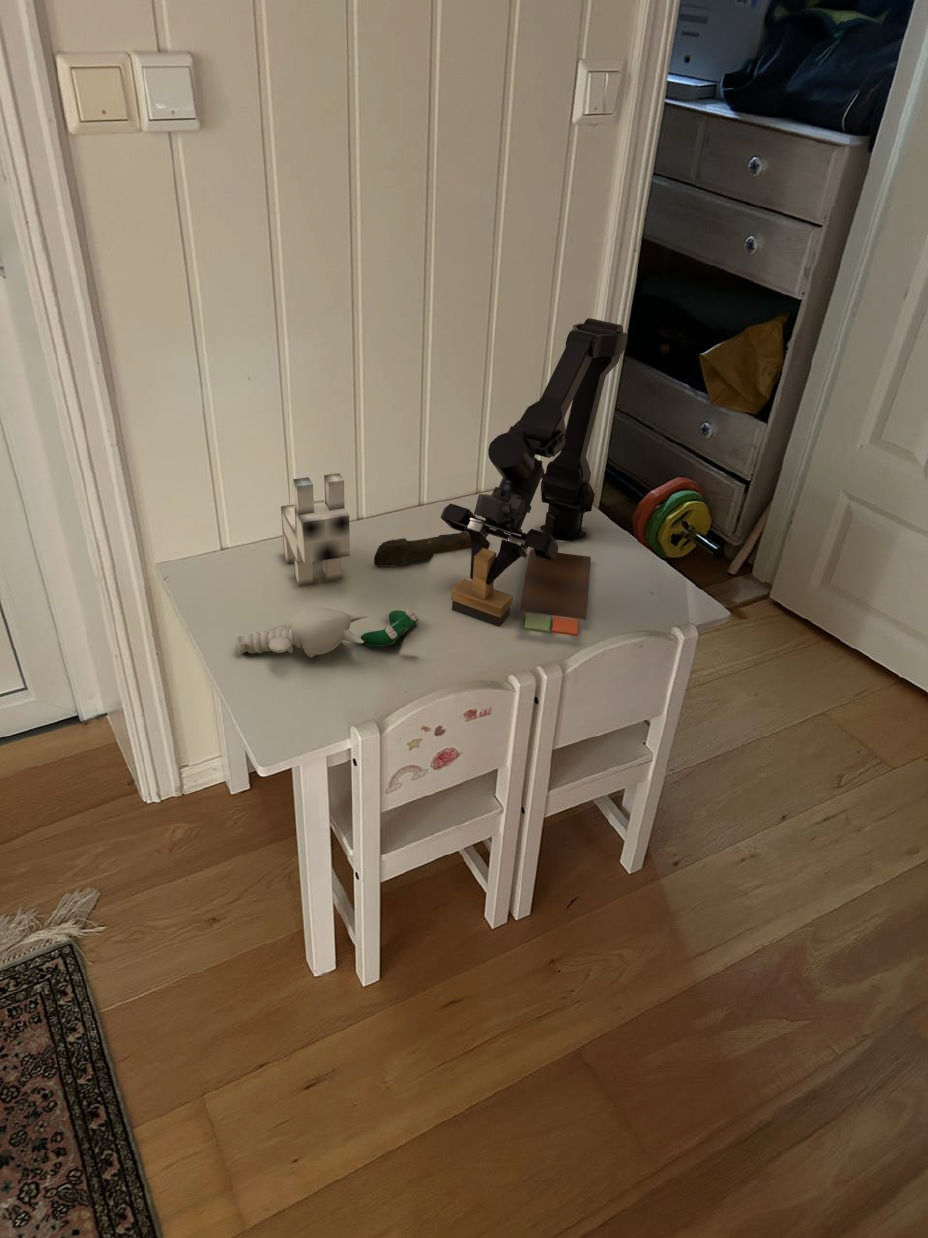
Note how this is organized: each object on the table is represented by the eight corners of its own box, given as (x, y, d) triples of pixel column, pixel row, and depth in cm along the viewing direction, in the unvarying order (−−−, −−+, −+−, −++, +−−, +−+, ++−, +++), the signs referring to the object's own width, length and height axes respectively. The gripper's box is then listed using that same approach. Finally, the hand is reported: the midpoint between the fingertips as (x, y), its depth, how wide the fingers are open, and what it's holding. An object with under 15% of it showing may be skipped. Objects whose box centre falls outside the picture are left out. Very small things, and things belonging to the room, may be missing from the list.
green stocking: (369, 659, 145) (392, 647, 140) (355, 638, 144) (378, 626, 140) (403, 630, 151) (426, 618, 147) (390, 611, 151) (413, 598, 146)
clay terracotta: (552, 626, 152) (553, 616, 151) (577, 629, 151) (578, 619, 150) (550, 640, 148) (552, 630, 147) (575, 643, 148) (577, 633, 147)
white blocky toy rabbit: (321, 542, 169) (317, 440, 157) (350, 594, 156) (348, 487, 144) (280, 549, 166) (273, 445, 154) (306, 602, 153) (301, 493, 141)
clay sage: (525, 623, 152) (526, 613, 151) (549, 626, 151) (551, 616, 150) (523, 637, 149) (524, 627, 147) (547, 640, 148) (549, 630, 147)
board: (529, 555, 169) (530, 548, 168) (589, 563, 168) (591, 556, 167) (518, 618, 153) (519, 610, 152) (585, 627, 152) (586, 619, 151)
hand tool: (469, 544, 171) (470, 522, 168) (477, 555, 168) (479, 532, 165) (370, 559, 165) (369, 537, 162) (376, 571, 162) (376, 548, 159)
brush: (462, 599, 154) (466, 539, 148) (511, 616, 151) (517, 556, 144) (449, 612, 151) (453, 551, 144) (499, 630, 148) (505, 569, 141)
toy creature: (240, 608, 145) (367, 592, 145) (249, 652, 147) (374, 637, 147) (223, 631, 133) (362, 614, 133) (233, 679, 135) (370, 662, 135)
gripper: (449, 456, 144) (410, 549, 142) (559, 489, 137) (520, 586, 135) (470, 482, 154) (434, 569, 152) (574, 514, 147) (537, 604, 146)
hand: (479, 581), depth 146 cm, fingers closed on brush, 2 cm apart
